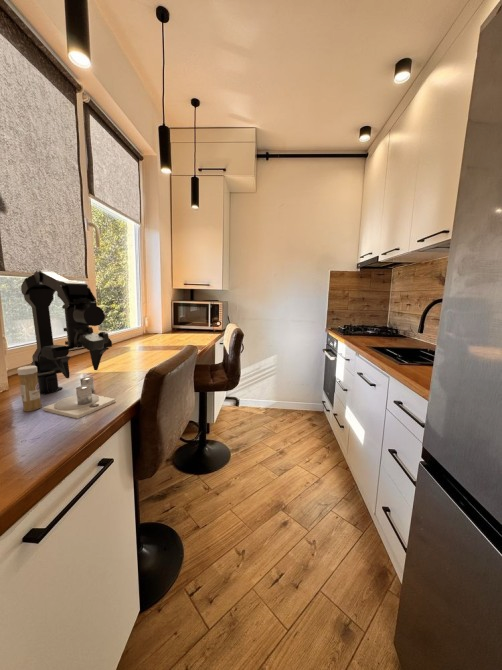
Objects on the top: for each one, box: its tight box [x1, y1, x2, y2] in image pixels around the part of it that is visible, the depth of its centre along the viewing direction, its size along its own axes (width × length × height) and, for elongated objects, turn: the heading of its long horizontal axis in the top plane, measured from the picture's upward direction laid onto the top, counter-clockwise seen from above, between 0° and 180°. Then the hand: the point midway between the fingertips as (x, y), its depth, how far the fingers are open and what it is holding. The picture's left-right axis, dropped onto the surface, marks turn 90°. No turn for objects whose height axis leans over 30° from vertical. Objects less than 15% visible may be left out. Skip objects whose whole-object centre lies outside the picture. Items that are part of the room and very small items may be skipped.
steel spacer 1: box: [79, 376, 95, 392], centre depth 96 cm, size 4×4×5 cm
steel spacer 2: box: [75, 385, 93, 405], centre depth 82 cm, size 4×4×5 cm
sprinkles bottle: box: [16, 365, 42, 412], centre depth 80 cm, size 5×5×13 cm
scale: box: [42, 393, 116, 420], centre depth 84 cm, size 15×13×2 cm
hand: (82, 373), depth 81 cm, fingers open, 9 cm apart
